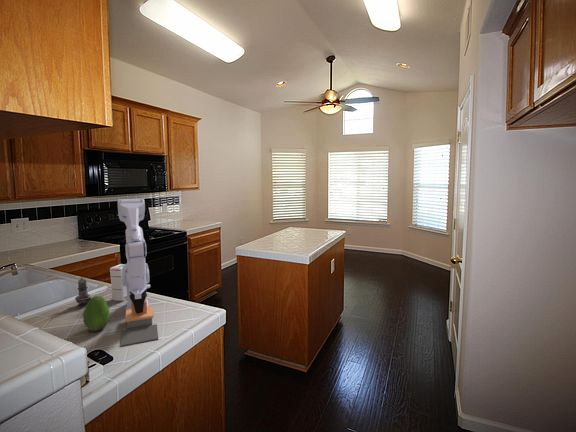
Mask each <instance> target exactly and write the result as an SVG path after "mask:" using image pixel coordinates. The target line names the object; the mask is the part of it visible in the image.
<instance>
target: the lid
mask: <svg viewBox="0 0 576 432" xmlns="http://www.w3.org/2000/svg"><path fill="white" fill-rule="evenodd" d="M153 308H154V307H153V305H150V306H149V305H148V307H147V301H146V300H145V301H144V307H143V312H142V313H136V312H135V308H134V305H133V302H131V309H129V310H126V309H125V317H124V322H125V323H127V322H130V321H136V320H142V319H148V318H152V319H153V318H154V309H153Z"/></svg>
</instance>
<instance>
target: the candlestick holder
mask: <svg viewBox="0 0 576 432" xmlns="http://www.w3.org/2000/svg"><path fill="white" fill-rule="evenodd" d="M77 284H78V287H77V290H78V295H77V296H75V297H74V299H75V302H76V303H77V305H76V308H78V309H83V308H86V306H87V304H88V302H89V300H90V299H91V298H92V294H90V293H88V292H89V291H88V288H89V287H88V286H87V285H88V284H87V280H86V279H85V278H83V276H81V277H80V279H79V280H78V282H77Z"/></svg>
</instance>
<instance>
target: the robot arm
mask: <svg viewBox="0 0 576 432" xmlns="http://www.w3.org/2000/svg"><path fill="white" fill-rule="evenodd" d="M145 212H146V204H145V199H144V198H129V199H128V198H127V199H126V198H125V199H123V198H119V199H117V213H118V218H119V221H120V222H123V223H124V224H125V226H126V229H125V240H126V241H125V242H126V243H125V257H126V263H124V264H125V265H124V266H123V268H122V282H123V286H126V289H127V299H126V301H127V302H126V307H125V311H126V310H129V309H131V302H133V305H134V308H135V312H136V313H142V312H143V307H144V301H145V300H146V301H147V307H149V300H148V298H147V297H148V293H147V290H148V289H150V288H151V284H149V283H150V269H149V265H148V263H146V257H147V253H148V252H147V243H146V240H145V238H144V231H143V228H142V227H141V226H140V225H139V223H140V222H141V221H144V219H145Z"/></svg>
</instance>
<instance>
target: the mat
mask: <svg viewBox="0 0 576 432" xmlns="http://www.w3.org/2000/svg"><path fill="white" fill-rule="evenodd" d="M158 332H159V331H158V324H157V323H155V324H152V325H148V326H142V327H137V328H131V329H127V328H125V329H122V331H121V338H120V339H121V340H120V347H125V346H130V345H131V346H132V345H136V344H141V343H146V342H152V341H158V340H159V333H158Z"/></svg>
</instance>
